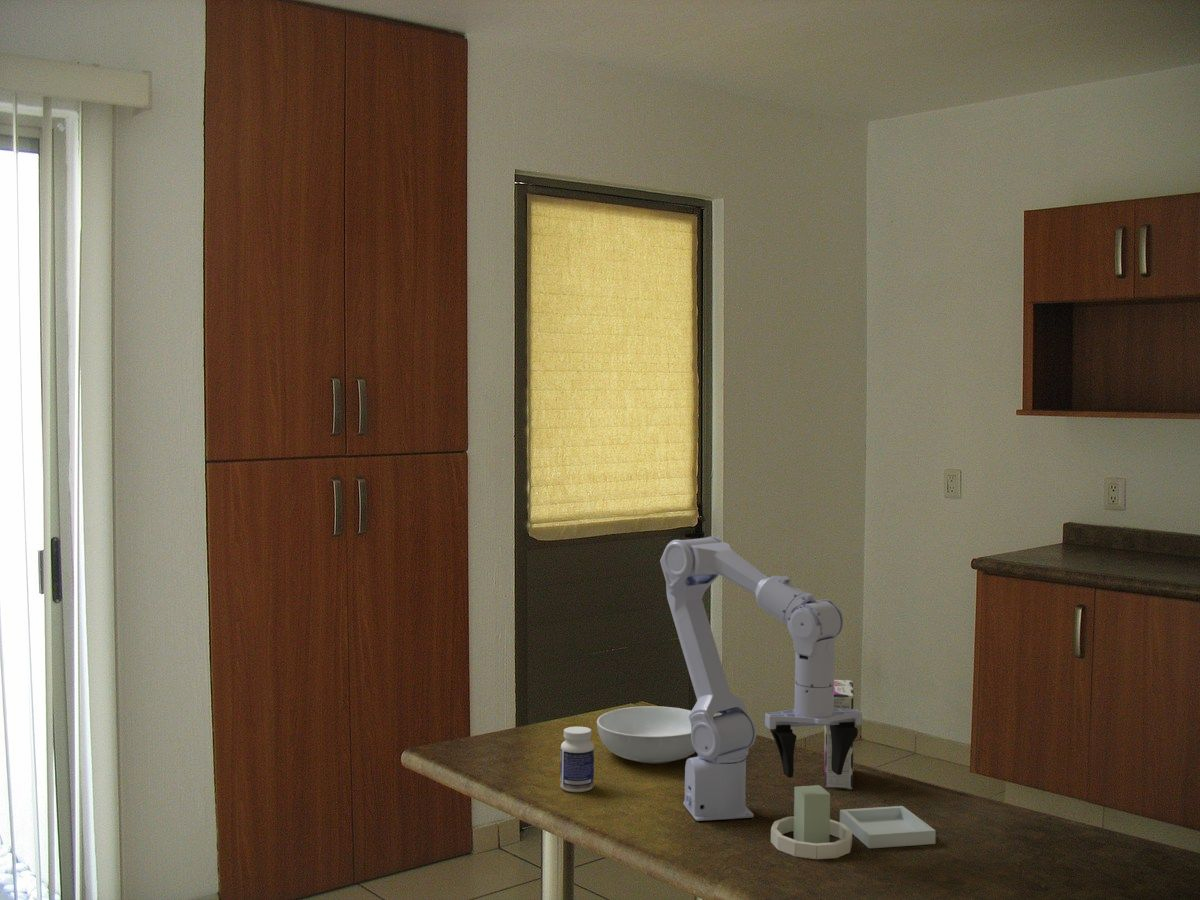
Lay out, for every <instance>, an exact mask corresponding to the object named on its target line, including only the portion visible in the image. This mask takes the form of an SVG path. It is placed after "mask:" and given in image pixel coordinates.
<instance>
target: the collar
mask: <svg viewBox="0 0 1200 900" xmlns="http://www.w3.org/2000/svg"><path fill="white" fill-rule="evenodd" d="M790 832H794V815H793V816H786V817H782V818H781V819H780V818H779V819H777V820H775V821H774V822H773V823H772V825H771V828H770V843H771V844H772V845H773V846H774V847H775V848H776V849H777V850H778V851H780V852H783V853H785V854H788V855H790V856H793V857H796V858H804V859H811V860H827V859H838V858H840V857H842V856H843V857H844V856H845V855H846V854H847V855H848V854H850V853H851V851H852V850H851V849H852V846H853V834H852V831H851V830H850V829H849V828H848V827H847V826H846V825H844V824H843V823H840V821H836V820H834V819H831V818H830V835H829V836H834V837H836V838H838V839H837V840H836V841H832V842H830V841H829V843H810V842H802V841H796V840H794V838H791V837H788V836H787V835H786V836H785V834H787V833H790Z"/></svg>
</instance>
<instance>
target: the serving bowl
mask: <svg viewBox="0 0 1200 900" xmlns="http://www.w3.org/2000/svg"><path fill="white" fill-rule="evenodd" d="M691 711H692V710H690V709H685V708H680V707H672V706H670V707H669V706H658V705H657V706H656V705H653V706H652V705H650V706H649V705H645V706H644V705H643V706H640V705H639V706H630V707H623V708H618V709H614V710H613V709H612V710H611V711H607V712H605V713H603V714H601V715H599V716H598V718H597V719H596V726H597V733H598V736H599V739H600V740H601V743H603V746H605V748H606V749H607V750H608V751H610V752H611V753H613V754H614V755H616V756H618V757H620V758H623V759H626V760H630V761H635V762H638V763H642V764H658V765H659V764H666V763H670V762H675V761H679V760H682V759H685V758H688V757H690V756H691V755H693V754H695V753H697V752H696V751H695V749H694V747H693V745H692V741H691V723H690V719H689V714H690V712H691Z"/></svg>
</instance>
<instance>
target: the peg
mask: <svg viewBox="0 0 1200 900" xmlns="http://www.w3.org/2000/svg"><path fill="white" fill-rule="evenodd" d="M793 793H794V795H793V797H794V798H793V799H794V800H793V801H794V802H793V816H794V831H793V839H794V840H796V841H802V842H810V843H829V842H830V836H831V835H830V819H831V793H830V792H828V791H827V790H826V789H825V788H823V786H821V784H818V785H817V784H815V785H801V786H794V792H793Z"/></svg>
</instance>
